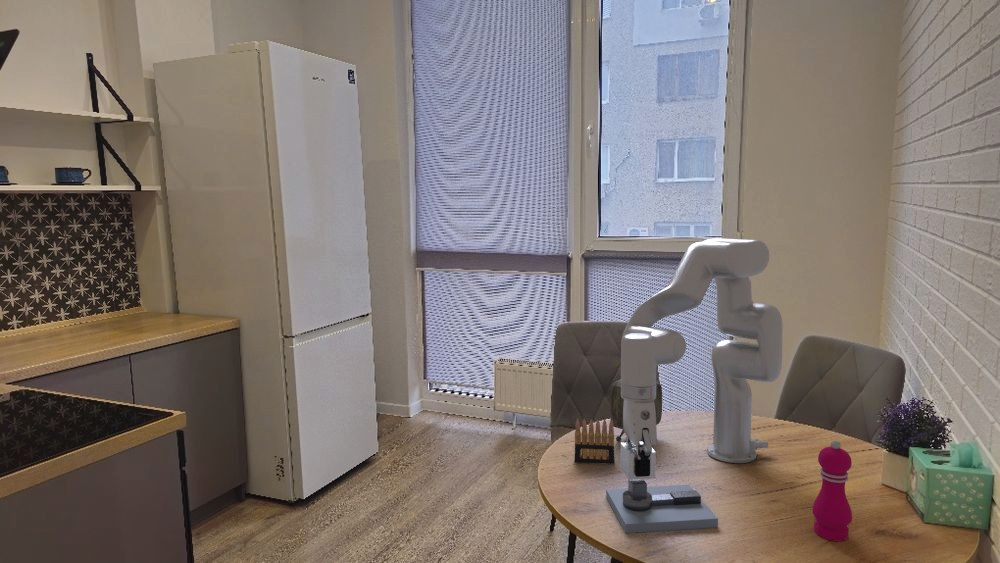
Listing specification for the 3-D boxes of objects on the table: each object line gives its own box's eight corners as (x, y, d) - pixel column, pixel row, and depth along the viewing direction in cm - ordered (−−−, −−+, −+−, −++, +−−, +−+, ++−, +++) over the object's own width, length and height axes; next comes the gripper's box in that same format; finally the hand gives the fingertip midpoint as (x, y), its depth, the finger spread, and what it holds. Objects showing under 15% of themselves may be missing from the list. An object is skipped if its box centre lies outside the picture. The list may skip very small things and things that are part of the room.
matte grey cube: (646, 466, 139) (646, 441, 138) (655, 478, 133) (655, 451, 132) (620, 468, 139) (620, 442, 138) (628, 479, 133) (628, 453, 132)
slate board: (688, 492, 146) (688, 484, 146) (717, 527, 130) (718, 518, 130) (606, 497, 144) (606, 489, 144) (625, 533, 129) (625, 524, 128)
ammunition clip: (614, 461, 164) (614, 418, 163) (614, 464, 163) (615, 420, 161) (574, 459, 166) (574, 417, 165) (574, 462, 164) (574, 419, 163)
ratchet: (692, 494, 141) (693, 471, 140) (704, 507, 135) (704, 483, 134) (619, 498, 140) (619, 475, 139) (627, 512, 133) (627, 488, 133)
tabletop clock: (637, 428, 188) (638, 348, 185) (663, 436, 181) (664, 353, 178) (609, 442, 178) (609, 358, 175) (636, 450, 171) (637, 363, 168)
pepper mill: (804, 525, 130) (808, 435, 128) (836, 523, 131) (841, 433, 128) (824, 544, 123) (829, 448, 121) (859, 541, 124) (864, 446, 121)
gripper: (669, 402, 125) (668, 486, 127) (642, 378, 142) (642, 452, 145) (633, 403, 125) (632, 488, 127) (611, 380, 142) (610, 454, 144)
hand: (637, 468), depth 136 cm, fingers closed on matte grey cube, 6 cm apart
